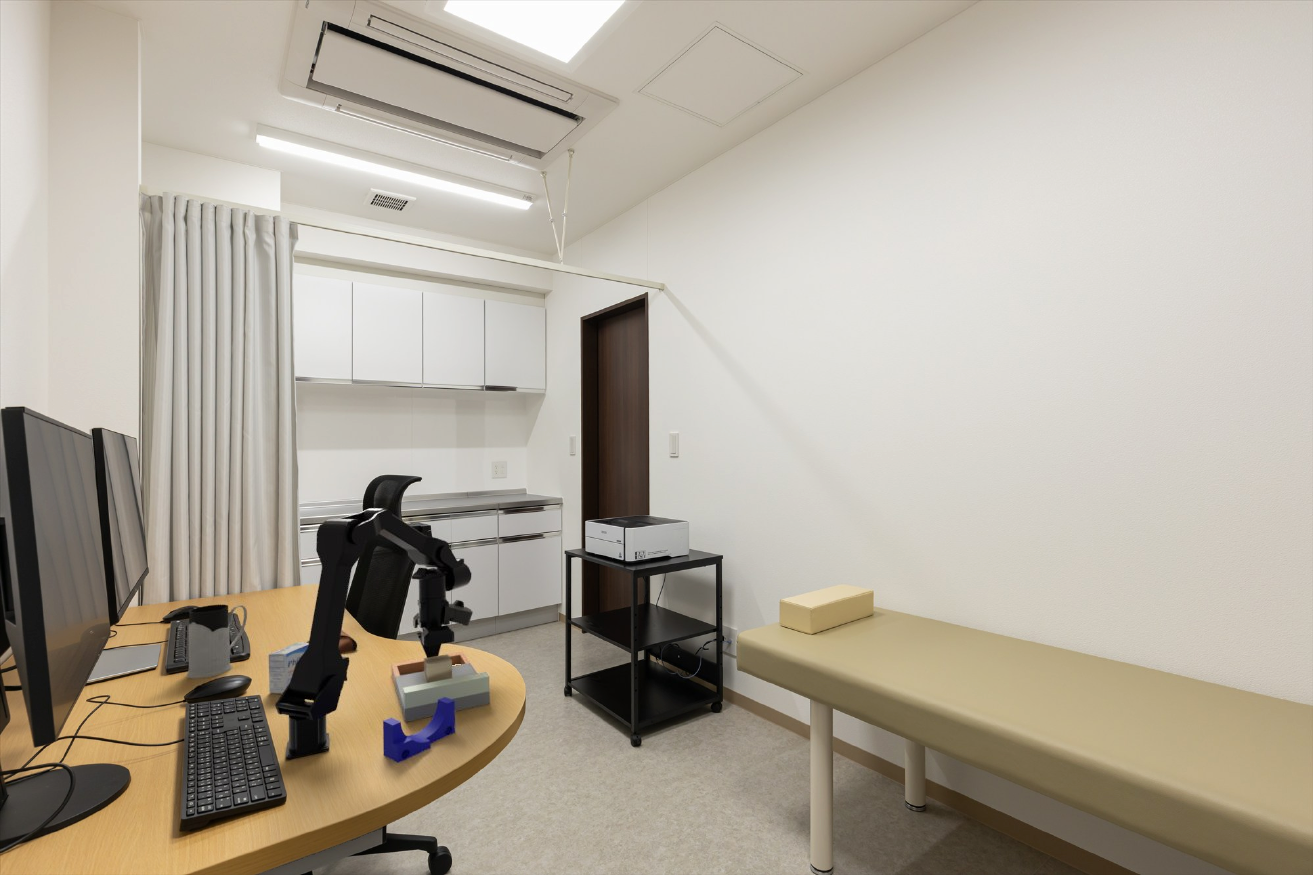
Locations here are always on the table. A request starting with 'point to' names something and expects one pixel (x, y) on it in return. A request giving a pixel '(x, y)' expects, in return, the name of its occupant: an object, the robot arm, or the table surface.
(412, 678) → the trap deck
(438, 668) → the birch block
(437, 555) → the robot arm
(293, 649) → the medicine box
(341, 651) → the sunglasses case
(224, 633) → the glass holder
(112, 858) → the table surface
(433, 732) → the blue cradle bracket
